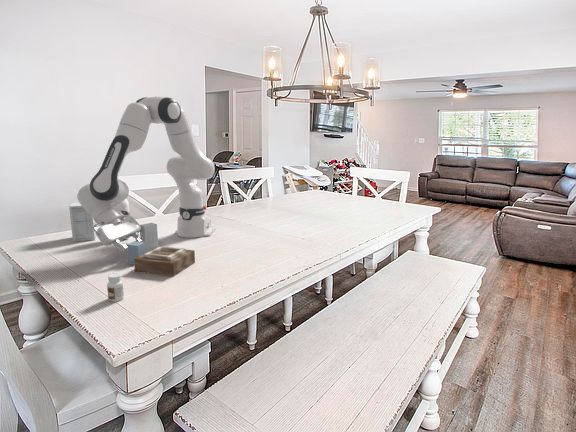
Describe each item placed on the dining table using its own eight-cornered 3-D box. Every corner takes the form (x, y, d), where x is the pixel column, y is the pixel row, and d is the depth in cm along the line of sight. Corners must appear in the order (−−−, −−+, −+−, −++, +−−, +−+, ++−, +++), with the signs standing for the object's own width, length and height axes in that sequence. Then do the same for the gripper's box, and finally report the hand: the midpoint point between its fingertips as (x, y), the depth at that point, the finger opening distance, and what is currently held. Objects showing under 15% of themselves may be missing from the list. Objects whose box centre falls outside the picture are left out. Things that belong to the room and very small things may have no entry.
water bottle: (131, 240, 180) (127, 187, 175) (114, 241, 178) (110, 188, 172) (131, 236, 187) (127, 185, 181) (115, 237, 184) (111, 186, 179)
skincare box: (153, 248, 168) (151, 222, 166) (158, 250, 166) (157, 224, 163) (140, 251, 164) (138, 224, 161) (145, 254, 161) (144, 226, 158)
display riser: (159, 258, 156) (158, 243, 155) (194, 262, 152) (194, 247, 151) (134, 271, 141) (133, 255, 139) (173, 276, 137) (173, 260, 136)
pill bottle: (105, 299, 117) (103, 275, 116) (119, 294, 121) (117, 271, 119) (112, 303, 115) (111, 279, 113) (126, 298, 118) (125, 275, 116)
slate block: (135, 259, 154) (134, 241, 153) (146, 260, 153) (145, 242, 152) (127, 262, 150) (126, 244, 148) (139, 264, 149) (137, 245, 147)
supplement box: (97, 235, 187) (94, 201, 184) (95, 240, 179) (92, 205, 175) (75, 236, 184) (71, 202, 180) (72, 241, 175) (68, 205, 172)
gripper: (95, 220, 140) (120, 248, 140) (130, 210, 159) (152, 235, 159) (85, 231, 142) (110, 259, 142) (122, 219, 161) (143, 244, 161)
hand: (132, 246), depth 150 cm, fingers open, 8 cm apart
